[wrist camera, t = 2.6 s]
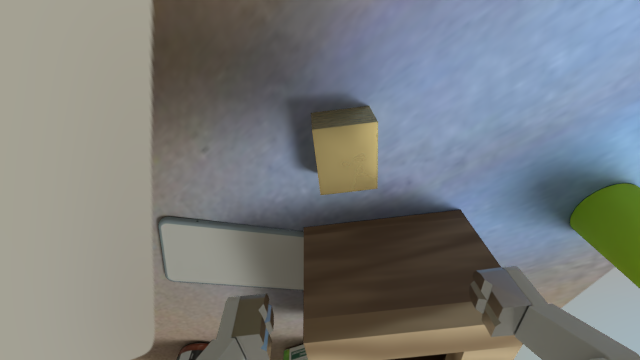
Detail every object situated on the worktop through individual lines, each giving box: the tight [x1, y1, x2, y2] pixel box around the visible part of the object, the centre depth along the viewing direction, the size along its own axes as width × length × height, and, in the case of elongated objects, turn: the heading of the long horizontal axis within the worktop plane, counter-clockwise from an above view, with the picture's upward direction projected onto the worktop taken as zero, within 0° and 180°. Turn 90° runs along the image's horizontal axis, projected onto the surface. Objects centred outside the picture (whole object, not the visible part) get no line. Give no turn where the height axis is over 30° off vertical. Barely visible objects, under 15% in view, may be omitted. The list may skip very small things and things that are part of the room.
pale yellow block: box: [311, 106, 378, 195], centre depth 20 cm, size 5×4×3 cm
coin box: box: [303, 210, 523, 360], centre depth 25 cm, size 14×14×10 cm
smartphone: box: [158, 217, 304, 291], centre depth 27 cm, size 8×1×15 cm
